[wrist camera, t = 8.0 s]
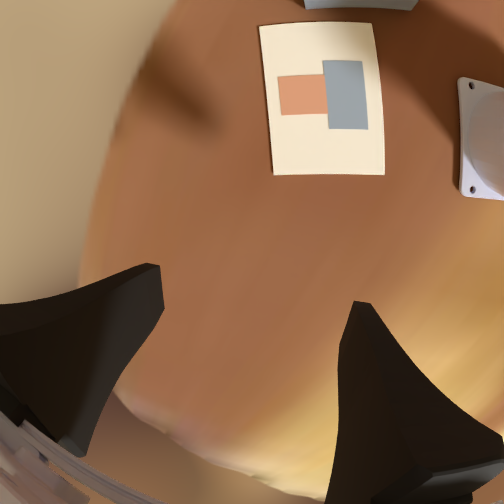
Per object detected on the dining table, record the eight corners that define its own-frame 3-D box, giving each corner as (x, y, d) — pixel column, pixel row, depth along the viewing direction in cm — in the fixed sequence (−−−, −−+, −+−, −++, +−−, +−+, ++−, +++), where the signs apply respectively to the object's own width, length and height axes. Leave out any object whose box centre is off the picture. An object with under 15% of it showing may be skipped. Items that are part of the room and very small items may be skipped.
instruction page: (370, 24, 12) (371, 23, 12) (384, 174, 16) (384, 175, 16) (259, 27, 14) (258, 26, 14) (274, 174, 18) (273, 175, 18)
